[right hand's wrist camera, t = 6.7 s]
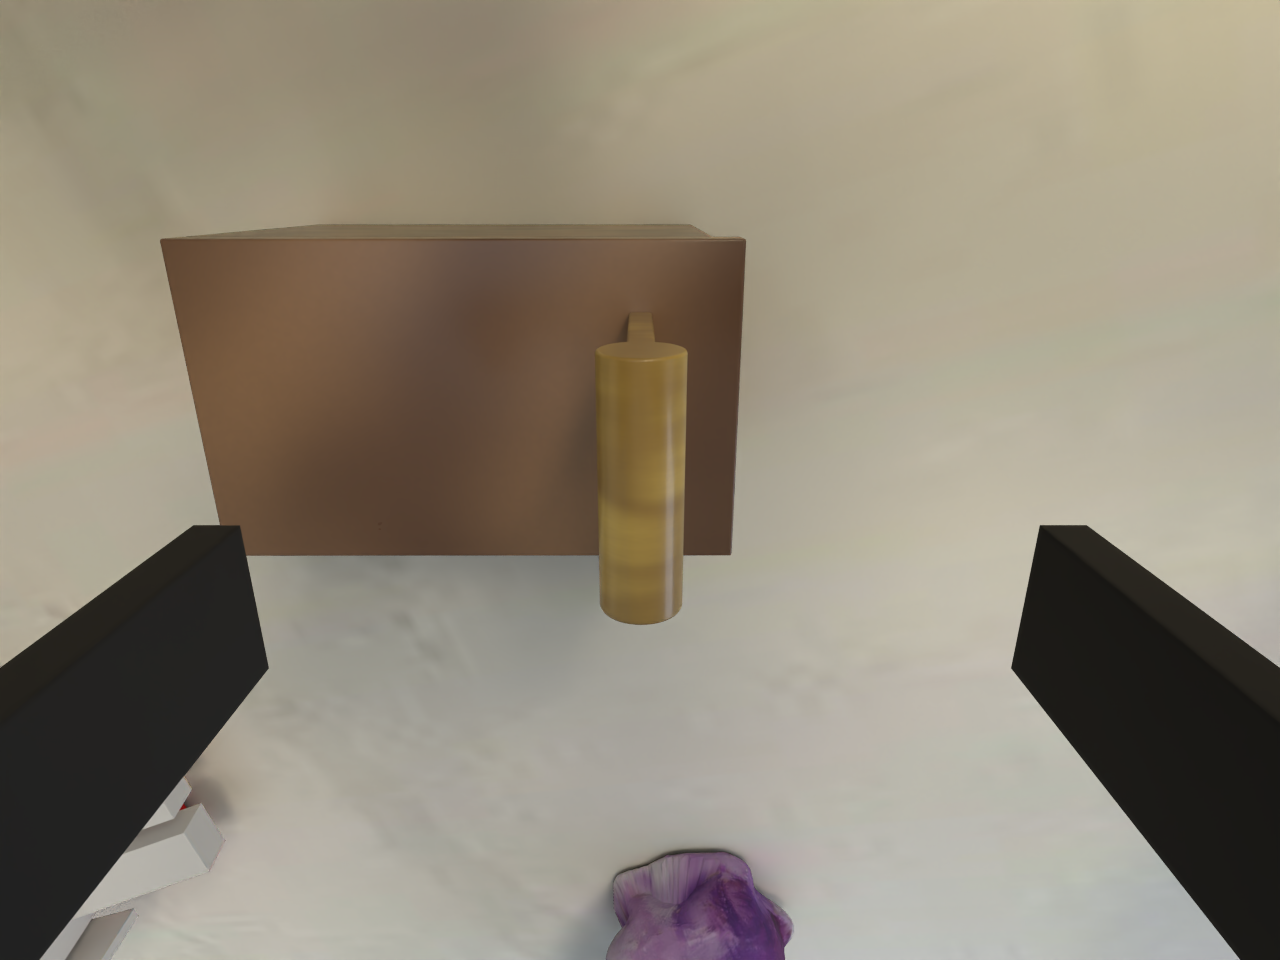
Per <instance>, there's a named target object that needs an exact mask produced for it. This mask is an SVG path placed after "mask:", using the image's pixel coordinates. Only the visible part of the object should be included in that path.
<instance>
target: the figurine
mask: <svg viewBox="0 0 1280 960" xmlns="http://www.w3.org/2000/svg"><path fill="white" fill-rule="evenodd" d="M613 889H614V890H613V891H614V894H613V895H614V897H613V898H614V900H613V901H614V903H613V904H614V910H615V913H616V915H617V917H618V920H619V922H620V924H621V926H622V929H621V930H620V931H619V932H618V933H617V935H616V936H615V937H614V939H613V941H612V943H611V944H610V946H609V948H608V951H607V955H606V960H785V955H784V947H785V946H786V944H787V943H788V942H789V941H790V940H791V938H792V935H793V932H794V925H793V922H792V919H791V918H790V917H789V915H788V914H787V913H786V912H785V911H784V910H783V909H781V908H780V907H779V906H778V905H776V904H775V903H774V902H772V901H771V900H769V899H767V898H766V897H765V896H763V895H762V894H760V893H759V892H758V891H757V890H756V889H755V888H754V884H753V878H752V874H751V870H750V868H749V867H748V865H747V864H746V863H745V862H744V861H743V860H742V859H739V858H737V857H735V856H733V855H731V854H730V853H726V852H715V853H682V854H675V855H666V856H665V857H663V858H661V859H658V860H656V861H654V862H652V863H650V864H649V865H648V866H644V867H641V868H635V869H633V870H628V871H626V872H624V873H621V874H619V875H617V876H616V879H615V880H614V883H613Z"/></svg>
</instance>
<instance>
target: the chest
mask: <svg viewBox="0 0 1280 960" xmlns="http://www.w3.org/2000/svg"><path fill="white" fill-rule="evenodd" d="M187 237H712V236H710V235H708V234H706V233H705V232H703V231H701V230H699V229H697V228H696V227H694V226H692V225H309V226H298V227H287V228H276V229H265V230H254V231H243V232H232V233H221V234H209V235H198V236H187Z"/></svg>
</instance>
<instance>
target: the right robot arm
mask: <svg viewBox="0 0 1280 960" xmlns="http://www.w3.org/2000/svg"><path fill="white" fill-rule="evenodd" d="M268 669H269V667H268V662H267V657H266V652H265V647H264V642H263V637H262V632H261V627H260V622H259V617H258V612H257V607H256V602H255V597H254V592H253V587H252V582H251V577H250V572H249V567H248V562H247V557H246V552H245V547H244V543H243V538H242V533H241V528H240V525H193V526H192V527H190V528H189V529H188V530H186V531H185V532H184V533H182V534H181V535H180V536H178V537H177V538H176V539H174V540H173V541H172V542H170V543H169V544H167V545H166V546H165V547H163V548H162V549H161V550H159V551H158V552H157V553H155V554H154V555H153V556H151V557H150V558H148V559H147V560H146V561H144V562H143V563H142V564H140V565H139V566H138V567H136V568H135V569H134V570H132V571H131V572H130V573H128V574H127V575H125V576H124V577H123V578H121V579H120V580H119V581H117V582H116V583H115V584H113V585H112V586H111V587H109V588H108V589H106V590H105V591H104V592H102V593H101V594H100V595H98V596H97V597H96V598H94V599H93V600H92V601H90V602H89V603H87V604H86V605H85V606H83V607H82V608H81V609H79V610H78V611H77V612H75V613H74V614H73V615H71V616H70V617H69V618H67V619H66V620H64V621H63V622H62V623H60V624H59V625H58V626H56V627H55V628H54V629H52V630H51V631H50V632H48V633H47V634H45V635H44V636H43V637H41V638H40V639H39V640H37V641H36V642H35V643H33V644H32V645H31V646H29V647H28V648H27V649H25V650H24V651H22V652H21V653H20V654H18V655H17V656H16V657H14V658H13V659H12V660H10V661H9V662H8V663H6V664H5V665H3V666H2V667H1V668H0V960H40V959H41V957H42V956H43V955H44V954H45V952H46V951H47V950H48V948H49V947H50V946H51V945H52V943H53V942H54V941H55V940H56V938H57V937H58V936H59V934H60V933H61V932H62V931H63V929H64V928H65V927H66V926H67V924H68V923H69V922H70V921H71V919H72V918H73V917H74V915H75V914H76V913H77V912H78V910H79V909H80V908H81V907H82V905H83V904H84V903H85V901H86V900H87V899H88V898H89V896H90V895H91V894H92V893H93V891H94V890H95V889H96V887H97V886H98V885H99V884H100V882H101V881H102V880H103V879H104V877H105V876H106V875H107V873H108V872H109V871H110V870H111V868H112V867H113V866H114V865H115V863H116V862H117V861H118V859H119V858H120V857H121V856H122V854H123V853H124V852H125V851H126V849H127V848H128V847H129V845H130V844H131V843H132V842H133V840H134V839H135V838H136V837H137V835H138V834H139V833H140V831H141V830H142V829H143V828H144V826H145V825H146V824H147V823H148V821H149V820H150V819H151V817H152V816H153V815H154V814H155V812H156V811H157V810H158V809H159V807H160V806H161V805H162V803H163V802H164V801H165V800H166V798H167V797H168V796H169V795H170V793H171V792H172V791H173V789H174V788H175V787H176V786H177V784H178V783H179V782H180V781H181V779H182V778H183V777H184V775H185V774H186V773H187V772H188V770H189V769H190V768H191V767H192V765H193V764H194V763H195V761H196V760H197V759H198V758H199V756H200V755H201V754H202V753H203V751H204V750H205V749H206V747H207V746H208V745H209V744H210V742H211V741H212V740H213V739H214V737H215V736H216V735H217V733H218V732H219V731H220V730H221V728H222V727H223V726H224V725H225V723H226V722H227V721H228V719H229V718H230V717H231V716H232V714H233V713H234V712H235V711H236V709H237V708H238V707H239V705H240V704H241V703H242V702H243V700H244V699H245V698H246V697H247V695H248V694H249V693H250V691H251V690H252V689H253V688H254V686H255V685H256V684H257V683H258V681H259V680H260V679H261V677H262V676H263V675H264V674H265V672H266V671H267V670H268ZM1011 669H1012V670H1013V671H1014V672H1015V674H1016V675H1017V676H1018V677H1019V679H1020V680H1021V681H1022V683H1023V684H1024V685H1025V686H1026V688H1027V689H1028V690H1029V691H1030V693H1031V694H1032V695H1033V697H1034V698H1035V699H1036V700H1037V702H1038V703H1039V704H1040V705H1041V707H1042V708H1043V709H1044V711H1045V712H1046V713H1047V714H1048V716H1049V717H1050V718H1051V719H1052V721H1053V722H1054V723H1055V725H1056V726H1057V727H1058V728H1059V730H1060V731H1061V732H1062V733H1063V735H1064V736H1065V737H1066V739H1067V740H1068V741H1069V742H1070V744H1071V745H1072V746H1073V747H1074V749H1075V750H1076V751H1077V753H1078V754H1079V755H1080V756H1081V758H1082V759H1083V760H1084V761H1085V763H1086V764H1087V765H1088V767H1089V768H1090V769H1091V770H1092V772H1093V773H1094V774H1095V775H1096V777H1097V778H1098V779H1099V781H1100V782H1101V783H1102V784H1103V786H1104V787H1105V788H1106V789H1107V791H1108V792H1109V793H1110V795H1111V796H1112V797H1113V798H1114V800H1115V801H1116V802H1117V803H1118V805H1119V806H1120V807H1121V809H1122V810H1123V811H1124V812H1125V814H1126V815H1127V816H1128V817H1129V819H1130V820H1131V821H1132V823H1133V824H1134V825H1135V826H1136V828H1137V829H1138V830H1139V831H1140V833H1141V834H1142V835H1143V837H1144V838H1145V839H1146V840H1147V842H1148V843H1149V844H1150V845H1151V847H1152V848H1153V849H1154V851H1155V852H1156V853H1157V854H1158V856H1159V857H1160V858H1161V859H1162V861H1163V862H1164V863H1165V865H1166V866H1167V867H1168V868H1169V870H1170V871H1171V872H1172V873H1173V875H1174V876H1175V877H1176V879H1177V880H1178V881H1179V882H1180V884H1181V885H1182V886H1183V887H1184V889H1185V890H1186V891H1187V893H1188V894H1189V895H1190V896H1191V898H1192V899H1193V900H1194V901H1195V903H1196V904H1197V905H1198V907H1199V908H1200V909H1201V910H1202V912H1203V913H1204V914H1205V915H1206V917H1207V918H1208V919H1209V921H1210V922H1211V923H1212V924H1213V926H1214V927H1215V928H1216V929H1217V931H1218V932H1219V933H1220V935H1221V936H1222V937H1223V938H1224V940H1225V941H1226V942H1227V943H1228V945H1229V946H1230V947H1231V948H1232V950H1233V951H1234V952H1235V954H1236V955H1237V956H1238V957H1239V959H1240V960H1280V668H1279V667H1278V666H1277V665H1275V664H1274V663H1272V662H1271V661H1270V660H1268V659H1267V658H1266V657H1264V656H1263V655H1262V654H1260V653H1259V652H1258V651H1256V650H1255V649H1253V648H1252V647H1251V646H1249V645H1248V644H1247V643H1245V642H1244V641H1243V640H1241V639H1240V638H1239V637H1237V636H1236V635H1235V634H1233V633H1232V632H1230V631H1229V630H1228V629H1226V628H1225V627H1224V626H1222V625H1221V624H1220V623H1218V622H1217V621H1216V620H1214V619H1213V618H1211V617H1210V616H1209V615H1207V614H1206V613H1205V612H1203V611H1202V610H1201V609H1199V608H1198V607H1197V606H1195V605H1194V604H1193V603H1191V602H1190V601H1188V600H1187V599H1186V598H1184V597H1183V596H1182V595H1180V594H1179V593H1178V592H1176V591H1175V590H1174V589H1172V588H1171V587H1169V586H1168V585H1167V584H1165V583H1164V582H1163V581H1161V580H1160V579H1159V578H1157V577H1156V576H1155V575H1153V574H1152V573H1150V572H1149V571H1148V570H1146V569H1145V568H1144V567H1142V566H1141V565H1140V564H1138V563H1137V562H1136V561H1134V560H1133V559H1132V558H1130V557H1129V556H1127V555H1126V554H1125V553H1123V552H1122V551H1121V550H1119V549H1118V548H1117V547H1115V546H1114V545H1113V544H1111V543H1110V542H1108V541H1107V540H1106V539H1104V538H1103V537H1102V536H1100V535H1099V534H1098V533H1096V532H1095V531H1094V530H1092V529H1091V528H1090V527H1088V526H1087V525H1040V528H1039V533H1038V538H1037V543H1036V547H1035V552H1034V557H1033V562H1032V567H1031V572H1030V577H1029V582H1028V587H1027V592H1026V597H1025V602H1024V607H1023V612H1022V617H1021V622H1020V627H1019V632H1018V637H1017V642H1016V647H1015V652H1014V657H1013V662H1012V667H1011Z"/></svg>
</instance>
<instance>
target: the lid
mask: <svg viewBox="0 0 1280 960" xmlns="http://www.w3.org/2000/svg"><path fill="white" fill-rule="evenodd" d="M160 243H161V247H162V252H163V257H164V262H165V266H166V271H167V276H168V281H169V285H170V290H171V295H172V300H173V304H174V309H175V314H176V318H177V323H178V328H179V333H180V337H181V342H182V347H183V352H184V356H185V361H186V366H187V371H188V375H189V380H190V385H191V389H192V394H193V399H194V404H195V408H196V413H197V418H198V423H199V427H200V432H201V437H202V442H203V446H204V451H205V456H206V460H207V465H208V470H209V475H210V479H211V484H212V489H213V494H214V498H215V503H216V508H217V513H218V517H219V522H220V525H240V528H241V533H242V538H243V543H244V547H245V552H246V556H301V555H599V579H600V606H601V608H602V610H603V612H604V613H605V614H606V615H607V616H609V617H610V618H612V619H614V620H617V621H619V622H623V623H627V624H635V625H647V624H655V623H659V622H663V621H666V620H668V619H670V618H672V617H673V616H675V615H676V614H677V613H678V612H679V610H680V609H681V606H682V587H683V555H731V553H732V532H733V510H734V489H735V467H736V446H737V424H738V403H739V381H740V360H741V338H742V317H743V295H744V274H745V253H746V240H745V239H743V238H741V237H176V238H165V239H161V240H160Z"/></svg>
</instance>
